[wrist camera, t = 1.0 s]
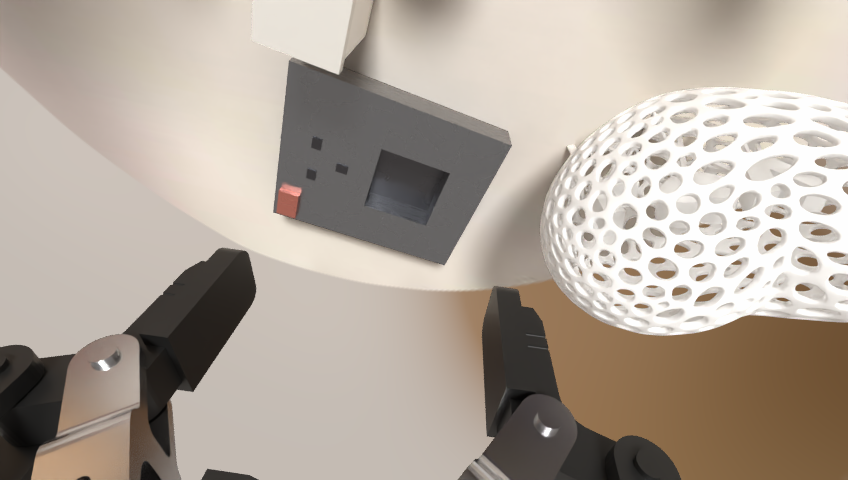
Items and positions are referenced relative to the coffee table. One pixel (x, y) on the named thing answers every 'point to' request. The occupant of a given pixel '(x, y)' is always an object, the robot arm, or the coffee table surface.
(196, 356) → the robot arm
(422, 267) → the coffee table surface
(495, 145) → the socket plate
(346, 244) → the coffee table surface
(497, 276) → the coffee table surface
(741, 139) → the decorative heart
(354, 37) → the plug
